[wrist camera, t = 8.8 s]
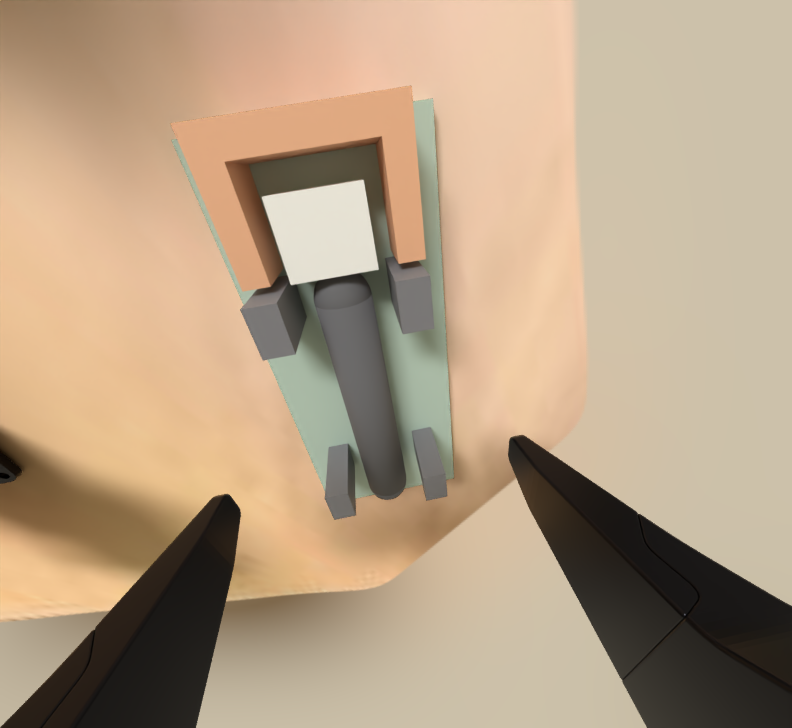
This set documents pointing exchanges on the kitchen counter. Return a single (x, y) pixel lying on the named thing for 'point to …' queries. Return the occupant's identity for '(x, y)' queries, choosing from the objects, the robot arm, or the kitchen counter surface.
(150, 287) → the kitchen counter surface
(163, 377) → the kitchen counter surface
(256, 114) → the clip board
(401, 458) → the rod
